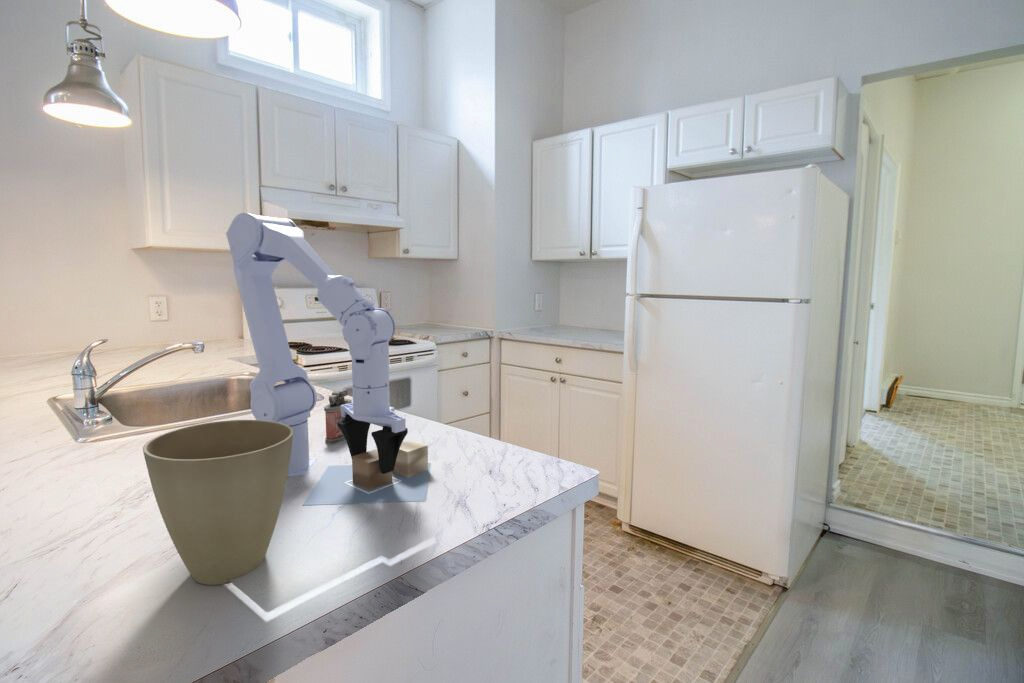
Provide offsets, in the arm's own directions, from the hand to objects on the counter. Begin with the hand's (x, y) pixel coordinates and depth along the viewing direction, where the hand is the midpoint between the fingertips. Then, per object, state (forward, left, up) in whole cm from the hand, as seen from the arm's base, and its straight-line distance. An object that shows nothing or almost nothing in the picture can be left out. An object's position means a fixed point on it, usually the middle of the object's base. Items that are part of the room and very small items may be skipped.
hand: (372, 466), depth 85 cm
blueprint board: (0, 0, -3) cm, 3 cm away
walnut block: (0, 0, -3) cm, 3 cm away
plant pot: (-13, -23, -3) cm, 27 cm away
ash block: (+6, +4, -3) cm, 8 cm away
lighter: (-11, +26, -3) cm, 28 cm away
